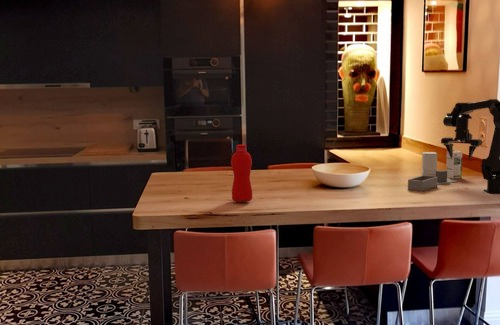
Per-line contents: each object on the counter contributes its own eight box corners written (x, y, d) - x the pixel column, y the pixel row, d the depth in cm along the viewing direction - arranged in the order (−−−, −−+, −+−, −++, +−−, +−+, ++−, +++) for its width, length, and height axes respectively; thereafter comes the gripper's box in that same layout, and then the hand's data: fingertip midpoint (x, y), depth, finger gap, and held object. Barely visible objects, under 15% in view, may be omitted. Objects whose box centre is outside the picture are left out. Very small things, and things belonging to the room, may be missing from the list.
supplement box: (436, 176, 286) (437, 153, 284) (422, 175, 287) (423, 153, 286) (434, 174, 293) (435, 151, 291) (421, 173, 295) (422, 151, 293)
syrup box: (452, 178, 277) (453, 152, 275) (445, 177, 282) (446, 150, 280) (461, 178, 278) (462, 151, 276) (454, 176, 284) (455, 150, 282)
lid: (436, 186, 260) (436, 173, 260) (424, 183, 267) (425, 171, 266) (457, 182, 268) (458, 170, 267) (445, 180, 275) (446, 168, 274)
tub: (422, 191, 245) (422, 181, 244) (407, 189, 250) (408, 179, 249) (437, 186, 256) (437, 176, 255) (422, 185, 261) (423, 175, 260)
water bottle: (251, 196, 239) (251, 142, 235) (252, 201, 228) (252, 145, 225) (231, 197, 239) (230, 143, 235) (231, 202, 228) (230, 146, 224)
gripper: (487, 127, 258) (485, 158, 260) (450, 125, 271) (449, 155, 273) (478, 128, 250) (477, 160, 252) (441, 127, 263) (439, 157, 265)
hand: (460, 158), depth 261 cm, fingers open, 9 cm apart
